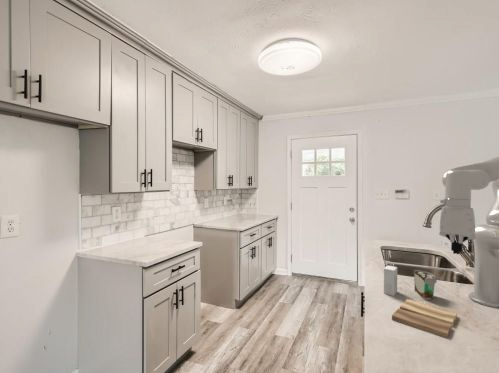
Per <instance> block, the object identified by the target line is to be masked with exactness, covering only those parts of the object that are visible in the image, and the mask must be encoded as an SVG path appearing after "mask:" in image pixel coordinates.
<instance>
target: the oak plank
mask: <svg viewBox="0 0 499 373" xmlns="http://www.w3.org/2000/svg"><path fill="white" fill-rule="evenodd" d="M399 309H402V310H406V311H409V312H412V313H416V314H419V315H422V316H425V317H429V318H432V319H435V320H439V321H442V322H445V323H449V324H452V327H453V326H454V324H455V322H456V320H457V318H458V312H455V311H451V310H448V309H445V308H440V307H437V306H434V305H430V304H426V303H422V302H419V301H415V300H412V299H408V298H406V300H405V301H403V303H402V304H400V306H399Z"/></svg>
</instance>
